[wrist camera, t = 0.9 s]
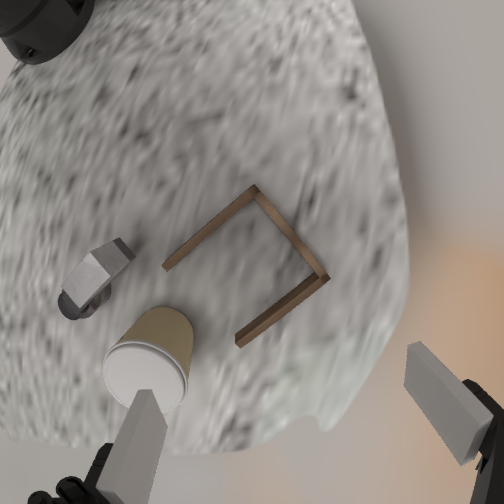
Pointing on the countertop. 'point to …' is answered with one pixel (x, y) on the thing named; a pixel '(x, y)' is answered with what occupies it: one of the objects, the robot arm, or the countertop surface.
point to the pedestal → (97, 301)
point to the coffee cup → (152, 359)
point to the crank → (93, 277)
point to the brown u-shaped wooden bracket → (319, 275)
